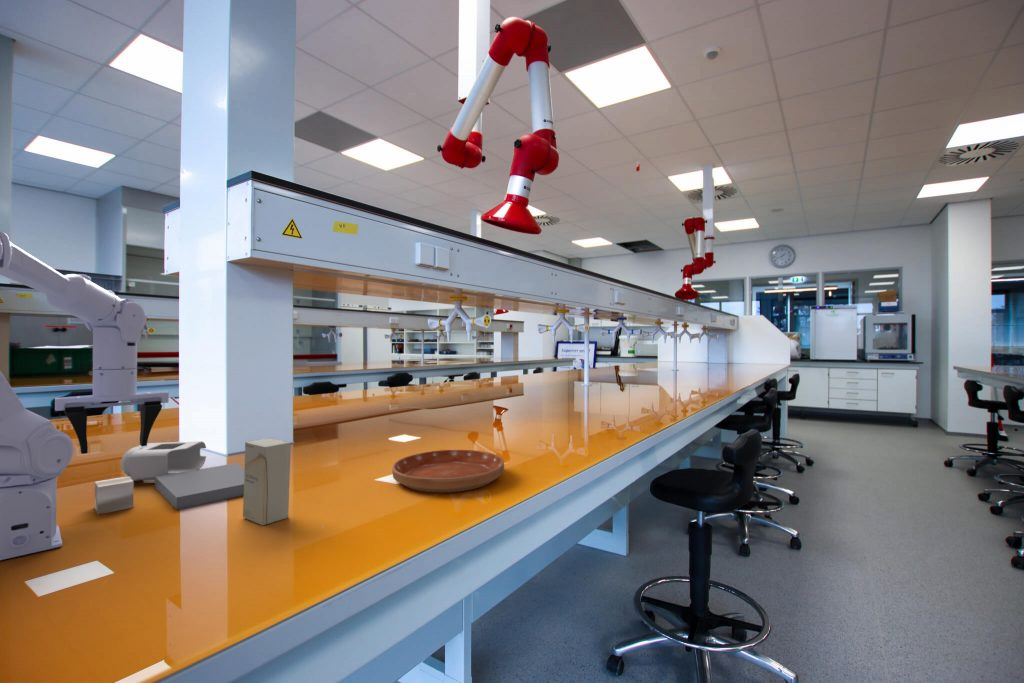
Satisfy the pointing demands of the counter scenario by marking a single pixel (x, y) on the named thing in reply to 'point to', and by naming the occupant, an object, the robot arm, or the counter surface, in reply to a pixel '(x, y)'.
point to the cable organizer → (162, 459)
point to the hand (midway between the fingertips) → (114, 448)
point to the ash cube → (113, 494)
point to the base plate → (201, 485)
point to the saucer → (448, 470)
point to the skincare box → (266, 480)
